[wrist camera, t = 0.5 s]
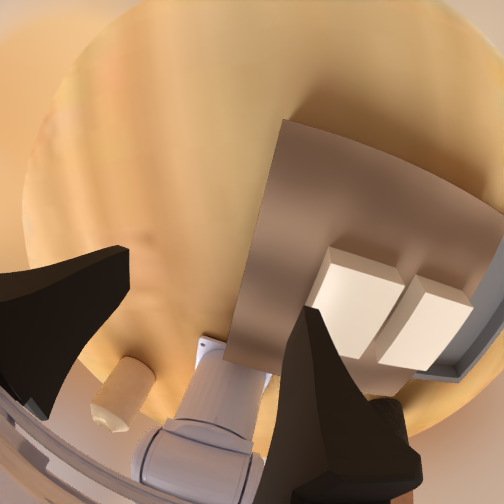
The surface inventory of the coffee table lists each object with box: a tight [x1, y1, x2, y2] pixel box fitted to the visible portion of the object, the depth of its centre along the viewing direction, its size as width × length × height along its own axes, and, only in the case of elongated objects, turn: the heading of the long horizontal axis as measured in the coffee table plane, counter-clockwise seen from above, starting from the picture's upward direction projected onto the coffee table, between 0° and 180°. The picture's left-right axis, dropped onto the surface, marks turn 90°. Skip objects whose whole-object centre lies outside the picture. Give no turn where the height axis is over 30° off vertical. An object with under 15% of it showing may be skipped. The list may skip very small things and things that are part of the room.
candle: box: [90, 357, 155, 432], centre depth 28 cm, size 6×6×10 cm
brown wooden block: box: [222, 119, 504, 397], centre depth 18 cm, size 18×16×4 cm
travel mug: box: [369, 399, 413, 504], centre depth 19 cm, size 8×8×20 cm
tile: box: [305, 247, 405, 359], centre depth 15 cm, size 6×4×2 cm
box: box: [411, 235, 504, 383], centre depth 18 cm, size 16×9×2 cm, turn 167°
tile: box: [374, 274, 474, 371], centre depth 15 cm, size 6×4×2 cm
